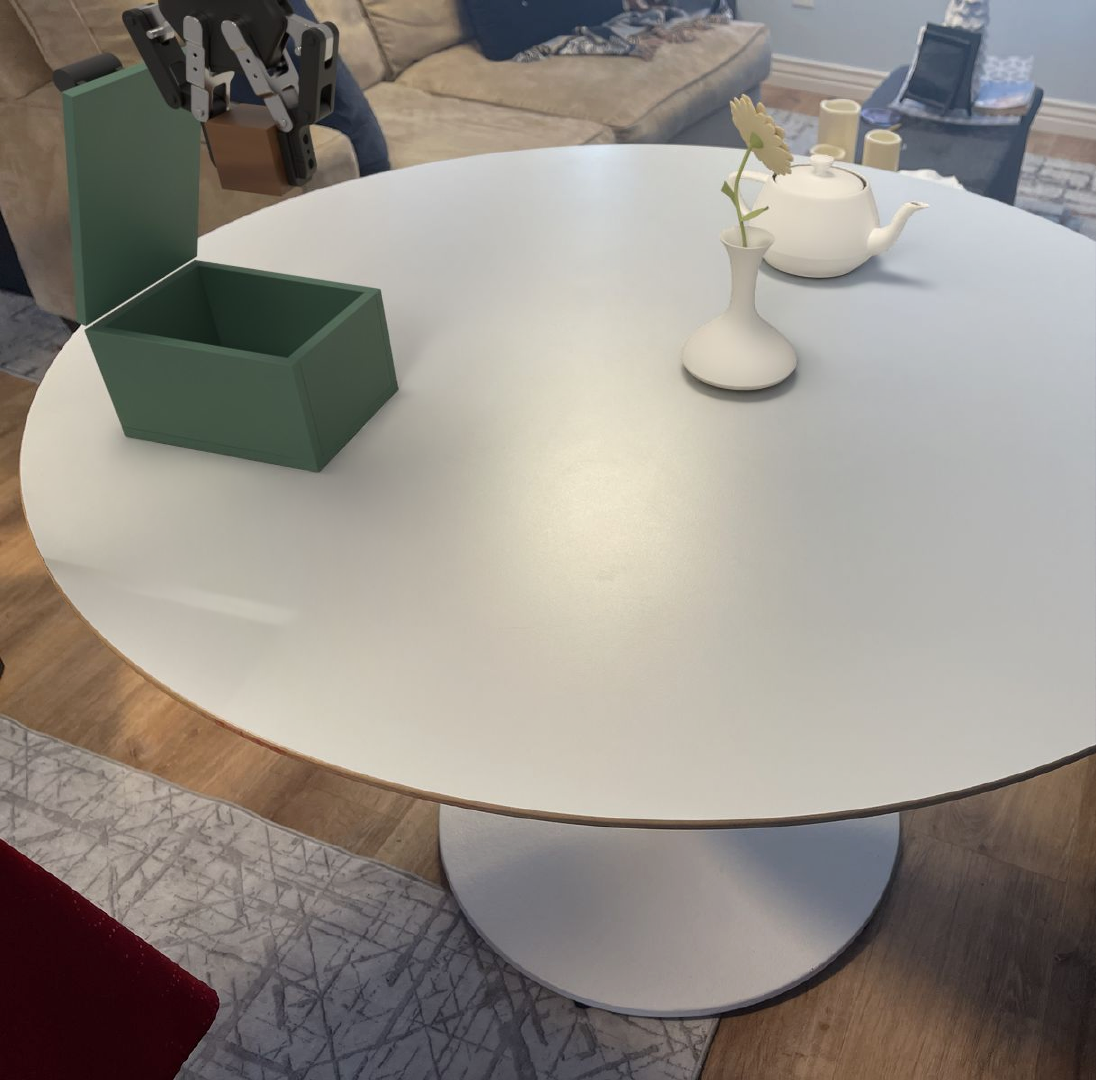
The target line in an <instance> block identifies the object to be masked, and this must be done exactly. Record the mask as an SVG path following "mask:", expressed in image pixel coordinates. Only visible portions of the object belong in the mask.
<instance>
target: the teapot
mask: <svg viewBox="0 0 1096 1080" xmlns="http://www.w3.org/2000/svg"><path fill="white" fill-rule="evenodd" d="M834 163H835V158H834V157H833V156H831V155H829V154H823V153H817V154H812V155H810V157H809V162H793V163H790V164H791V166H790V169H791V171H792V173H791V174H787V173H786V175H785V176H783V175H781V174H780V175H777V174H775V173H774V172H773V171H772V172H770V174H768V173H765V172H759V171H754V170H749V169H743V171H742V174H741V177H740V180H749V181H753V182H758V183H763V186H762V188H761V190H760V192H759V194H758V195H757V197H756V200H755V201H754V204H753V206H752V208H750V207H749V205H748V204H747V203H746V201H745V199H744V198H743V195H742V193H741V190H740V185H739V184H740V183H739V184H738V201H739V206H740V211H741V215H742V218H743V217H744V216H745V215H747V214H748V213H750V212H753V211H755V210H758V209H761V208H766V207H767V206H768V207H769V209H768V210H766V211H764V212H762V213H761V214H759V215H758V216H756V217H754V218H752V219H750V220H746V222H748V224H747V226H751V227H757V228H761V229H764V230H766V231H768V232H770V233H771V234H773V236H774V237H775V241H774V243H773V244H772V245H771V246H770V247H769V248H768V250H767V251H766V253H765V254H764V256H763V258H762V259H764V260H765V262H767V264H768V265H770V266H771V267H773V268H775V269H776V270H779V271H781V272H783V273H787V274H790V275H794V276H798V277H804V278H818V279H819V278H820V279H821V278H834V277H840V276H843V275H846V274H850V273H851V272H852V271H854V270H855V269H857V268H858V267H859V266H861V265H862V264H864V263H865V262H867V261H869V259H870V258H872V257H874V256H878V255H880V254H883V253H885V252H888V251H889V250H890V249H891V248H892V247H893V246H894V245H895V244H896V243H897V242H898V239H899V237H900V236H901V234H902V232H903V230H904V228H905V226H906V224H907V222H908V221H909V219H910V218H911V217H912V216H913V215H914V214H915V213H916V212H918V211H920V210H923V209H927V208H930V207H931V204H929V203H926V202H921V201H915V200H912V201H911V200H910V201H907V202H905V203H903V204H902V205H901V206H899V208H898V209H897V211H896V212H895V215H894V216H893V218H892V219H891V221H890V222H889V224H887V225H886V226H884V227H881V222H880V216H879V211H878V207H877V204H876V200H875V196H874V193H873V190H872V187H871V184H870V181H869V179H868V178H866V176H865V175H863V174H861V172H858V171H856V170H854V169H851V168H848V167H845V166H841V165H837V164H834ZM738 171H739V169H738V170H735V171H733V172H730V173H729V176H728V178H727V181H726V182H727V183H728V185H729V186H730V188H731V189H732V190H733V192H734V185H735V180H736V177H737V174H738ZM732 204H733V206H734V207H735V208H736V206H735V205H734V203H733V202H732Z"/></svg>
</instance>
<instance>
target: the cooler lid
mask: <svg viewBox="0 0 1096 1080" xmlns="http://www.w3.org/2000/svg"><path fill="white" fill-rule="evenodd" d="M181 48H182V50H183V52H184V54H185V56H186V45H185V46H181ZM122 63H123V62H122V61H121V60H120V59H119V58H118V56H116V55H115V53H111V52H109V51H105V52H102V53H100V54H99V53H98V54H96V55H94V56H93V55H92V56H90V57H87V58H84V59H82V60H78V61H75V62H72V63H70V64H67V65H64V66H61V67H58V68H56V69H54V70H53V71H52V74H51V79H52V83H53V85H54V86H55V87H56V89H57V90H58V91H59V92H60V93H61V99H62V100H61V103H62V115H63V131H64V146H65V148H64V149H65V163H66V177H67V178H66V179H67V192H68V193H67V194H68V208H69V209H68V210H69V224H70V239H71V257H72V269H73V285H74V300H75V313H76V314H75V316H76V323H78V324H80V325H82V326H84V327H89V326H90V325H92V323H95V322H97V321H98V320H100V319H101V318H103V317H105V316H106V315H108V314H109V313H111V312H112V311H114V310H116V309H117V308H119V307H120V306H122V305H124V304H125V303H127V302H128V301H130V300H131V299H133V298H135V297H136V296H138V295H139V294H141V293H143V292H144V291H146V290H147V289H149V288H150V287H152V286H154V285H155V284H157V283H158V282H160V281H162V280H163V279H165V278H166V277H168V276H169V275H171V274H173V273H174V272H176V271H177V270H179V269H181V268H182V267H184V266H185V265H187V263H188V264H189V263H190V262H192V261H193V260H195V259H196V258H197V257H198V245H199V243H198V241H199V207H200V179H201V178H200V175H201V174H200V173H201V144H202V143H201V141H202V126H201V123H200V121H198V120H197V119H196V118H195V117H194V116H193V114H192V113H191V112H189V111H187V110H185V109H183V108H179V109H173V108H171V107H170V106H168V105H167V103H166V102H165V100H164V98H163V96H162V94H161V92H160V90H159V89H158V87H157V85H156V83H155V81H154V79H153V77H152V75H151V74H150V72H149V70H148V68H147V66H146V64H145V62H144V61H142V62H138V63H135V64H134V65H131V66H128V67H124V66H123V64H122ZM170 70H171V68H170ZM171 72H172V70H171ZM172 74H173V72H172ZM173 76H174V74H173ZM174 78H175V76H174ZM175 80H176V78H175ZM176 82H177V80H176ZM177 84H178V82H177ZM178 85H179V84H178Z"/></svg>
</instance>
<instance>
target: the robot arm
mask: <svg viewBox="0 0 1096 1080" xmlns="http://www.w3.org/2000/svg"><path fill="white" fill-rule="evenodd" d="M121 20H122V23H123V25H124V27H125V28H126V30H127V32H128V34H129V36H130V38H131V40H132V42H133V43H134V45H135V47H136V49H137V52H138V54H139V56H140V57H141V59H142V60H143V62H145V64H146V66H147V68H148V70H149V72H150V74H151V75H152V77H153V79H154V81H155V83H156V85H157V87H158V89H159V90H160V92H161V94H162V96H163V98H164V100H165V102H166V103H167V105H168V106H170V107H171V108H173V109H179V108H183V109H185V110H187V111H189V112H191V113H192V114H193V116H194V117H195V118H196V119H197V120H198V121H200V123H201V131H202V134H203V136H204V137H203V138H204V140H205V144H206V148H207V151H208V155H209V159H210V161H211V163H212V165H213V167H214V168H215V169H217V168H216V165H215V161H214V157H213V154H212V150H211V146H210V143H209V139H208V135H207V132H206V128H205V124H204V122H206V121H208V120H210V119H212V118H214V117H216V116H218V115H220V114H222V113H224V112H226V111H228V110H230V104H231V102H230V101H231V81H232V80H233V78H234V76H235V73H236V74H237V75H238V74H239V75H241V76H244V77H246V78H247V80H248V82H249V84H250V86H251V89H252V91H253V93H254V94H255V95H256V96H257V97H259V98H261V99H262V101H264V104H265V106H267V108H268V110H269V112H270V114H271V116H272V118H273V120H274V122H275V124H276V126H277V127H278V129H279V131H277V132H276V133H277V138H278V142H279V146H280V151H281V155H282V160H283V164H284V168H285V173H286V177H287V181H288V184H289V185H290V186H295V188H302V187H303V186H305V185H307V184H308V183H309V182H311V181H312V180H313V177H314V175H315V174H316V173H317V170H318V162H317V159H316V158H317V157H316V153H315V149H314V143H313V138H312V133H311V126H312V125H314V124H316V123H317V122H320V121H321V120H322V119H324V118H326V117H328V116H329V115H331V114H332V113H333V112H334V110H335V99H336V98H335V97H336V85H337V72H338V61H339V60H338V58H339V47H340V46H339V45H340V31H339V28H338V26H337V25H336V24H335V23H334V22H333V21H329V20H326V21H323V22H321V23H316V22H314V21H312V20H309V19H307V18H305V17H303V16H301V15H298V14H296V12H295V9H294V7H293V5H292V3H291V2H290V1H289V0H157V3H155V2H148V3H144V4H139V5H137V6H134V7H131V8H130V9H127V10H124V11H123V12H122V14H121ZM176 34H177V35H178V37H179V38H180V39H181V40H182V42H183V43H184V44H185V46H186V56H185V54H184V52H183V50H182V46H181V44H180V42H179V40H178V38H177V37H176ZM290 38H292V40H293V42H294V43H293V44H294V49H293V52H294V54H295V56H298V57H300V59H299V73H298V72H297V69H296V67H295V64H294V62H293V60H292V59H291V56H290V54H289V52H288V50H287V44H288V42H289V40H290ZM170 68H171V70H172V72H173V74H174V76H175V78H176V80H177V82H178V84H179V85H178V84H177V82H176V80H175V78H174V76H173V74H172V72H171V70H170ZM272 70H273V75H272V76H270V74H269V71H272ZM313 174H314V175H313Z"/></svg>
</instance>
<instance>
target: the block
mask: <svg viewBox="0 0 1096 1080" xmlns="http://www.w3.org/2000/svg"><path fill="white" fill-rule="evenodd" d="M204 124H205V128H206V132H207V135H208V139H209V143H210V146H211V150H212V154H213V157H214V161H215V165H216V168H215V169H216V173H217V175H218V179H219V182H220V186H221V189H222V190H226V191H227V190H228V191H235V192H242V193H249V194H251V193H252V194H258V195H266V196H273V197H280V198H281V197H284V196H285V195H286V194H288V193H289V192H291V191H292V190H294V189H295V188H296V187H295V186H290V185H289V184H288V181H287V177H286V173H285V168H284V164H283V160H282V155H281V151H280V146H279V142H278V138H277V133H276V132H277V131H279V129H278V127H277V126H276V124H275V122H274V120H273V118H272V116H271V114H270V112H269V110H268V108H267V106H266V105H260V104H253V103H252V104H251V103H242V102H241V103H239V104H237V105H235V106H234V107H232V108H229V109H228V110H227V111H226V112H224V113H222V114H220V115H218V116H216V117H214V118H212V119H210V120H208V121H206V122H204ZM313 176H315V173H314V174H313Z"/></svg>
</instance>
